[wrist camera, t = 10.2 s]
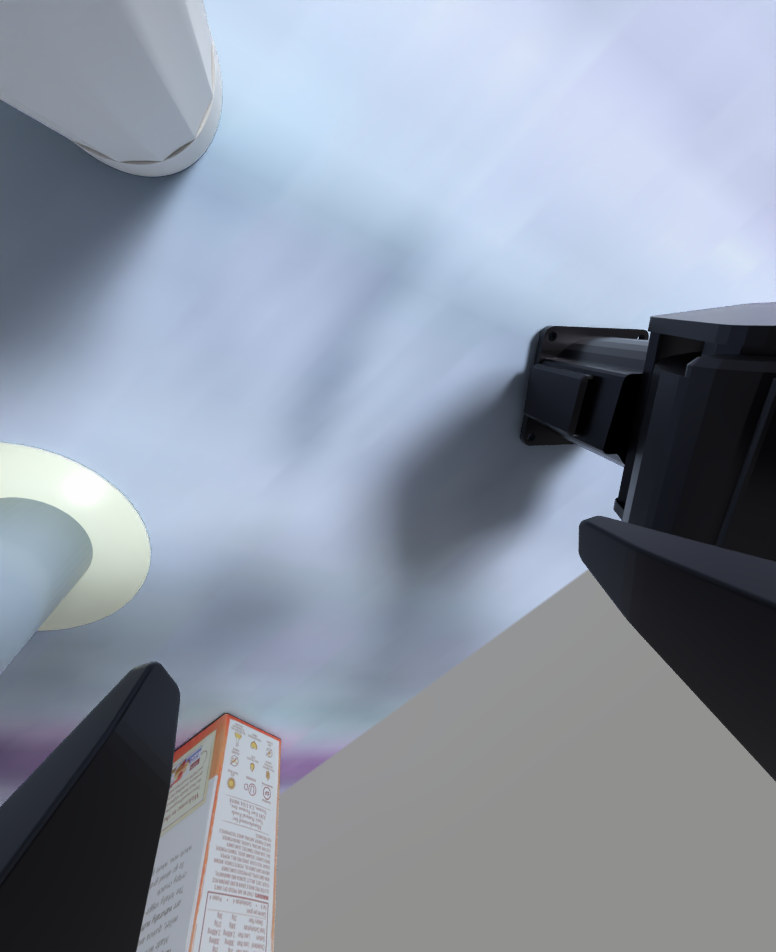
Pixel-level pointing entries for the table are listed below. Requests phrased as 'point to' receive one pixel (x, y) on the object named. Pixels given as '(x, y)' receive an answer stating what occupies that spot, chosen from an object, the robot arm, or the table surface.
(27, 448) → the mat
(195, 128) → the cup
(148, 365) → the table surface
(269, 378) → the table surface
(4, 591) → the grey cylinder
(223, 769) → the cracker box
